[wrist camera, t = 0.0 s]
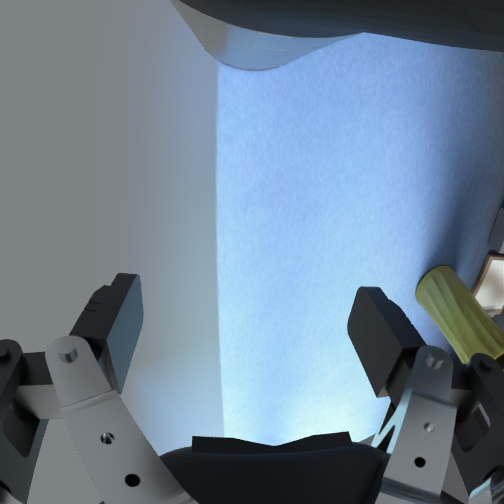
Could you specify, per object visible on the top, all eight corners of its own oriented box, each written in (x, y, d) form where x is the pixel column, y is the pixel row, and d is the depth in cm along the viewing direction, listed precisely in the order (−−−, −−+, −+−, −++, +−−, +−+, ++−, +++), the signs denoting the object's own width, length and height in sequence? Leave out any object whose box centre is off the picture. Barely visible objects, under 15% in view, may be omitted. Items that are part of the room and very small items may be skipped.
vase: (460, 263, 32) (527, 339, 20) (445, 302, 36) (500, 381, 23) (422, 265, 32) (490, 353, 20) (409, 307, 35) (462, 396, 23)
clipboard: (487, 254, 32) (493, 259, 31) (524, 257, 33) (529, 262, 32) (459, 315, 37) (463, 321, 36) (498, 311, 38) (502, 317, 37)
